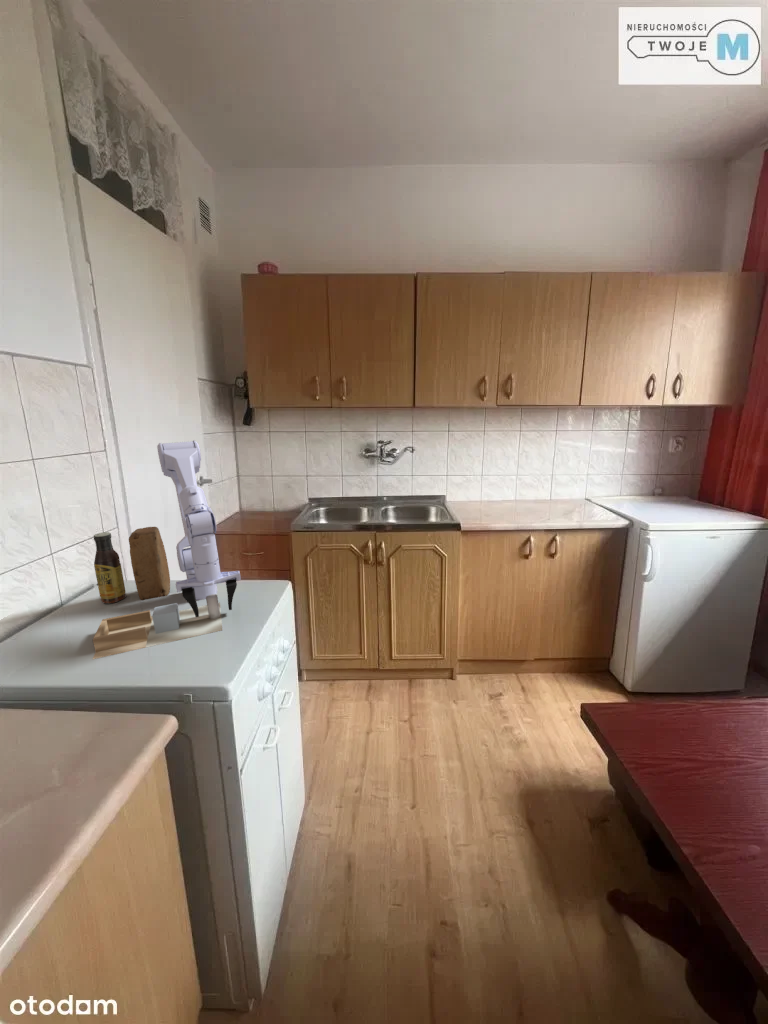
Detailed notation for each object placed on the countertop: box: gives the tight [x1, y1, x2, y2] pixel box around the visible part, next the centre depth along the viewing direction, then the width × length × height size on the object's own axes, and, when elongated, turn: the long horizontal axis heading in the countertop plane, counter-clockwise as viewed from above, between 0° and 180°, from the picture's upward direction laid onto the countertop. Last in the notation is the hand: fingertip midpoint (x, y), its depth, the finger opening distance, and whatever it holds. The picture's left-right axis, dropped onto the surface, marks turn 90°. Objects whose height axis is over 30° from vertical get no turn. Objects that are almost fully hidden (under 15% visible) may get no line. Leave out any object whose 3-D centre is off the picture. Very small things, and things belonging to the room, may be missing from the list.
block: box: [128, 526, 171, 601], centre depth 121 cm, size 11×8×20 cm
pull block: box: [151, 594, 220, 634], centre depth 103 cm, size 5×14×6 cm, turn 112°
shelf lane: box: [92, 602, 223, 660], centre depth 101 cm, size 16×26×4 cm, turn 113°
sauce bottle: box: [93, 531, 127, 604], centre depth 119 cm, size 6×6×20 cm
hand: (213, 611), depth 105 cm, fingers open, 7 cm apart
